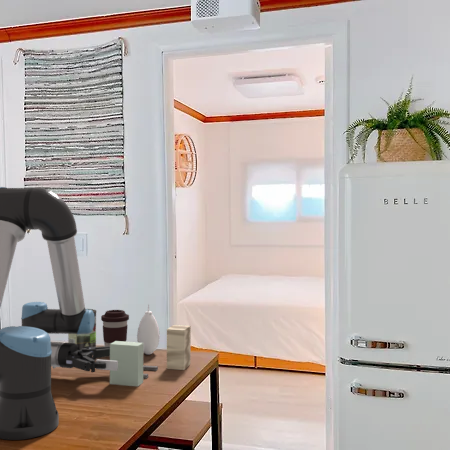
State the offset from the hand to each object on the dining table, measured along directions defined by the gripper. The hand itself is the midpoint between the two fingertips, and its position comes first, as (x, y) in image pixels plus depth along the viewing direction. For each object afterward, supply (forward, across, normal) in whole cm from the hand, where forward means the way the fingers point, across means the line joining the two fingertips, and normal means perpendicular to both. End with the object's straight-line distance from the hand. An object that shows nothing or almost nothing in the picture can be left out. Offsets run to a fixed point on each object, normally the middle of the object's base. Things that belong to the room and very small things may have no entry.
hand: (126, 359), depth 162 cm
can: (-32, -33, -7) cm, 47 cm away
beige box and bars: (+4, -14, -7) cm, 16 cm away
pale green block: (0, +1, -7) cm, 7 cm away
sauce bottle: (-5, -32, -7) cm, 33 cm away
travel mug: (-18, -31, -7) cm, 37 cm away
